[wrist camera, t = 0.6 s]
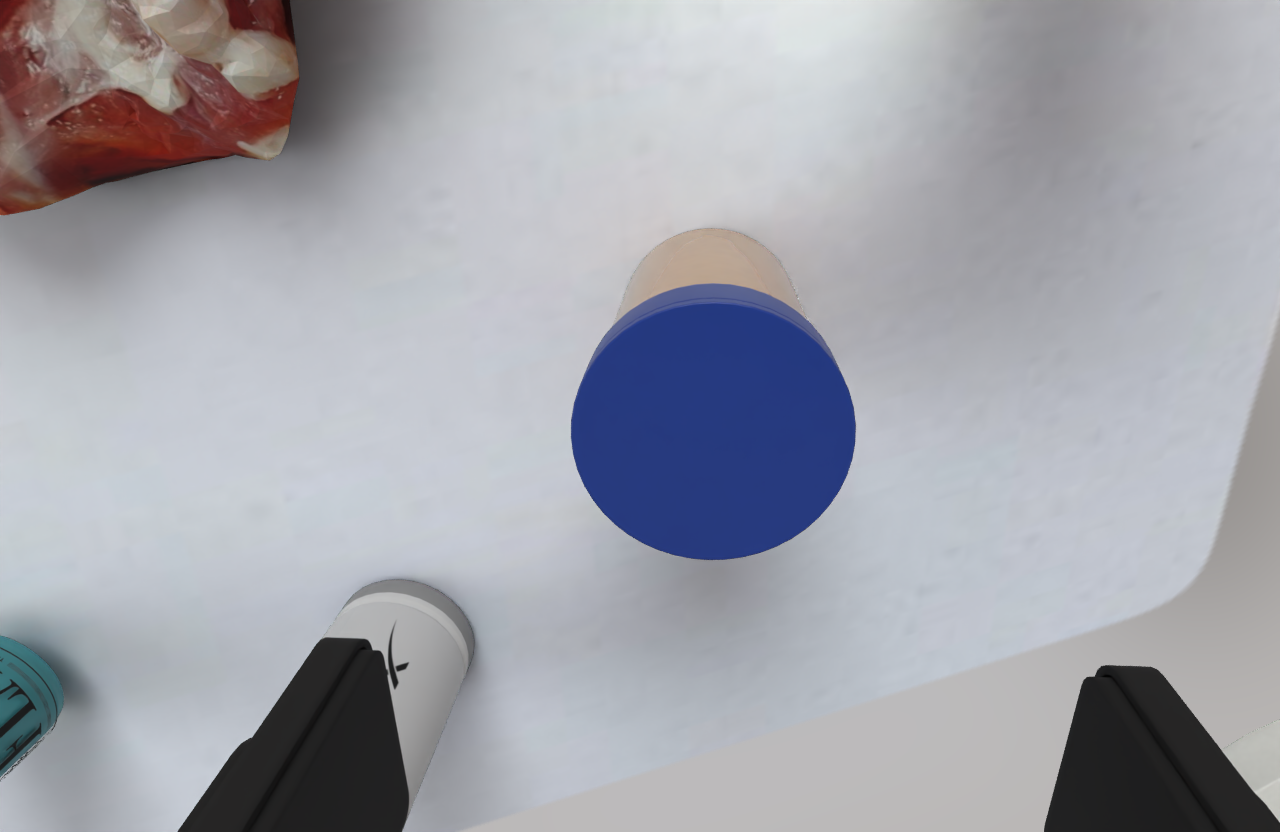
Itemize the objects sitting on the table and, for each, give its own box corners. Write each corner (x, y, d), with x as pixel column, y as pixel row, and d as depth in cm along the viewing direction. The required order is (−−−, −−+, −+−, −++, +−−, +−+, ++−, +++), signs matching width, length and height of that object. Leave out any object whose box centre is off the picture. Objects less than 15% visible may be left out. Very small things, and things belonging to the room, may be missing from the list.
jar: (830, 284, 28) (897, 390, 18) (736, 423, 31) (752, 582, 21) (677, 194, 27) (662, 255, 18) (593, 344, 30) (539, 471, 20)
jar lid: (900, 369, 20) (918, 396, 18) (754, 563, 22) (758, 603, 21) (661, 231, 19) (657, 245, 17) (538, 450, 21) (524, 482, 20)
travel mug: (388, 704, 38) (87, 1292, 19) (317, 598, 35) (-98, 1149, 17) (501, 672, 36) (295, 1272, 18) (436, 560, 34) (123, 1113, 16)
